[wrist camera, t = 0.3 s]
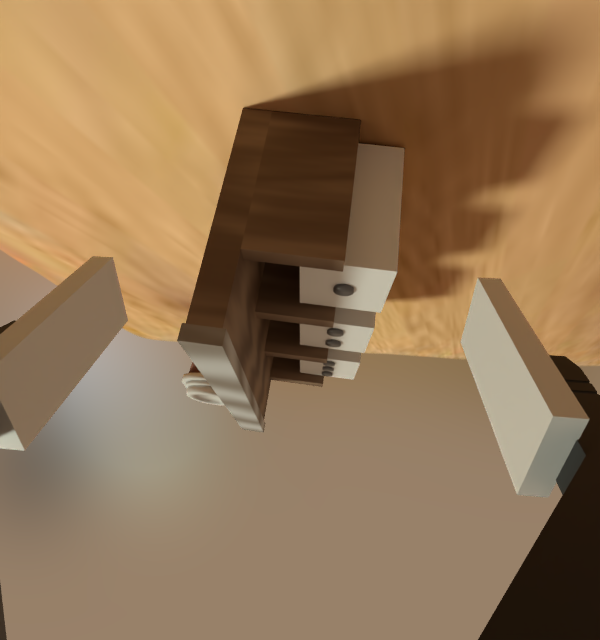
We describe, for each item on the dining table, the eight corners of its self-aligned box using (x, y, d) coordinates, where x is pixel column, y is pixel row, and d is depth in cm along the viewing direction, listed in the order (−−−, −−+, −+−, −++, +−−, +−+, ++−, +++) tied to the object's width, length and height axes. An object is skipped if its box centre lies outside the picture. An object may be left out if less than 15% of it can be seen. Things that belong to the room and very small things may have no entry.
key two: (315, 217, 39) (299, 320, 35) (382, 225, 39) (374, 330, 35) (313, 253, 44) (299, 346, 40) (372, 260, 44) (364, 355, 40)
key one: (319, 139, 31) (299, 262, 27) (404, 148, 30) (397, 274, 26) (316, 195, 36) (299, 305, 32) (388, 203, 36) (380, 315, 32)
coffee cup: (210, 302, 60) (189, 386, 55) (268, 322, 64) (254, 403, 59) (190, 320, 67) (170, 396, 62) (243, 337, 71) (228, 410, 66)
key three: (312, 268, 47) (299, 357, 43) (367, 275, 47) (359, 365, 43) (311, 293, 53) (299, 374, 49) (360, 299, 52) (353, 381, 48)
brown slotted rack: (240, 107, 29) (177, 340, 23) (360, 120, 29) (333, 361, 22) (268, 293, 55) (242, 429, 48) (332, 301, 54) (315, 439, 48)
